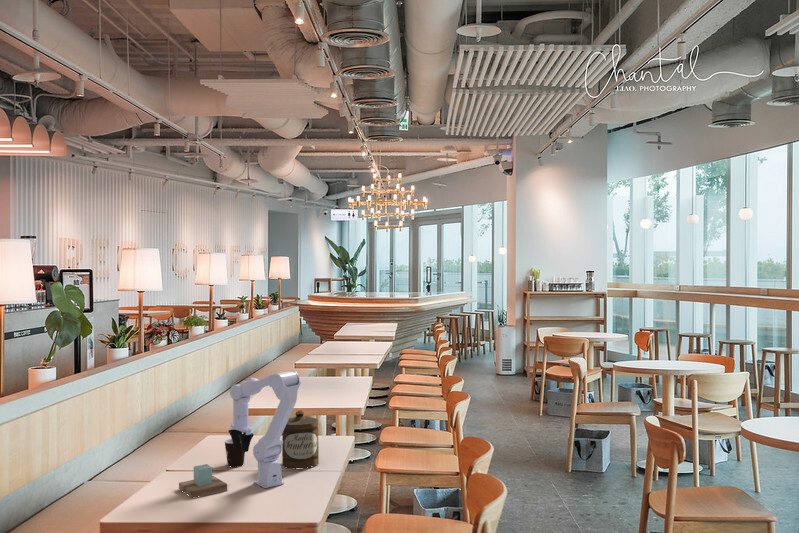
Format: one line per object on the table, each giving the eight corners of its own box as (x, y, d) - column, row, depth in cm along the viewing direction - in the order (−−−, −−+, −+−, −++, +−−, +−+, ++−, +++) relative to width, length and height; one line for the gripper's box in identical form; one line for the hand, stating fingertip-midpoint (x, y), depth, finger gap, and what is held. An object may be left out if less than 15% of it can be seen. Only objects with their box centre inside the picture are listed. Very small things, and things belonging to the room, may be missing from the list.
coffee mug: (243, 467, 275) (243, 443, 275) (222, 468, 275) (222, 443, 275) (250, 460, 286) (250, 436, 286) (230, 460, 286) (229, 436, 286)
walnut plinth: (227, 490, 246) (227, 483, 246) (192, 498, 238) (192, 491, 238) (213, 482, 256) (213, 475, 256) (179, 489, 248) (179, 482, 248)
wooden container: (284, 471, 269) (283, 415, 270) (280, 461, 284) (280, 408, 284) (321, 467, 273) (320, 413, 274) (315, 458, 288) (315, 406, 288)
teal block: (212, 483, 246) (211, 467, 246) (198, 486, 243) (198, 469, 243) (206, 480, 250) (206, 464, 250) (193, 483, 247) (193, 466, 247)
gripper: (223, 413, 266) (223, 447, 266) (239, 419, 255) (239, 455, 255) (240, 410, 271) (240, 444, 271) (256, 416, 259) (256, 452, 259)
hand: (240, 449), depth 263 cm, fingers open, 7 cm apart
